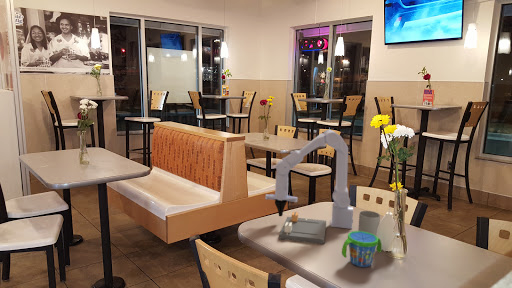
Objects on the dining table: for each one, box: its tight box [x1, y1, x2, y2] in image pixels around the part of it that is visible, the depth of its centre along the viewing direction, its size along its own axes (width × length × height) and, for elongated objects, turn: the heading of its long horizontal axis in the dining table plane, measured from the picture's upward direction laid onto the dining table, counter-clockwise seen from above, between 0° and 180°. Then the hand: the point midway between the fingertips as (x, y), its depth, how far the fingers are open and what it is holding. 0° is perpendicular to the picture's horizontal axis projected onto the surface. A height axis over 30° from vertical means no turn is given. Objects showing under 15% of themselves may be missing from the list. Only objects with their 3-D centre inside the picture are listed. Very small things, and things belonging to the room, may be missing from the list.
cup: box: [357, 210, 381, 236], centre depth 152 cm, size 8×8×10 cm
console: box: [279, 216, 327, 245], centre depth 157 cm, size 18×21×2 cm
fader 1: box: [285, 222, 292, 233], centre depth 151 cm, size 2×4×3 cm, turn 166°
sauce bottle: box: [377, 206, 396, 252], centre depth 139 cm, size 8×8×18 cm
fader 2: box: [291, 211, 299, 222], centre depth 164 cm, size 2×4×3 cm, turn 166°
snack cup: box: [341, 230, 383, 268], centre depth 129 cm, size 16×10×10 cm
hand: (280, 215), depth 165 cm, fingers closed
